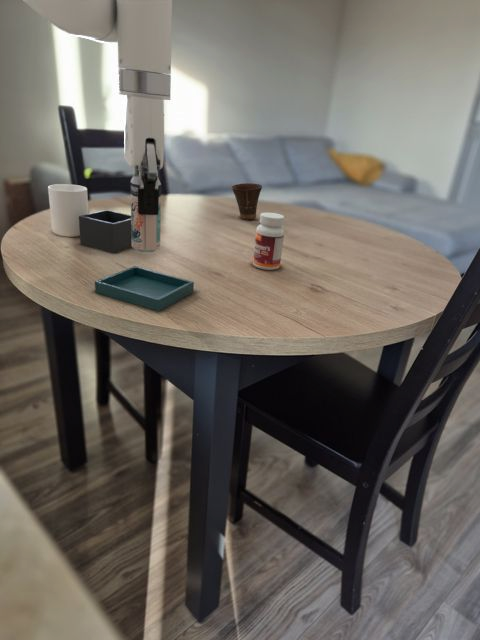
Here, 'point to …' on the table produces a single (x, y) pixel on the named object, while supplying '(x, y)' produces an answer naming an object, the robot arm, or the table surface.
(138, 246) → the beer can
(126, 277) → the tray
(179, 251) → the table surface
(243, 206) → the cup
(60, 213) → the mug
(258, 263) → the pill bottle
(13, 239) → the table surface
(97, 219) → the bin
